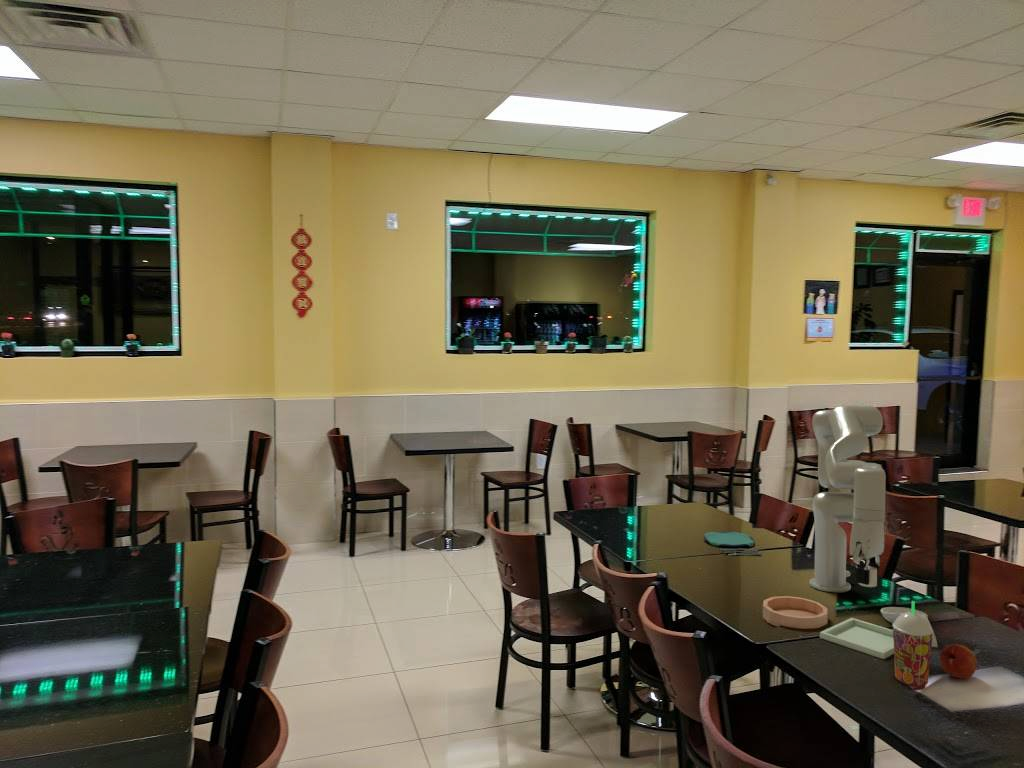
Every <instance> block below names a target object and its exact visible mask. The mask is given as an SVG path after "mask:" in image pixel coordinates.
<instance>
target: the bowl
mask: <svg viewBox="0 0 1024 768" xmlns="http://www.w3.org/2000/svg"><path fill="white" fill-rule="evenodd" d="M828 613H829V612H828V607H826V606H825V605H823V604H821V603H820V602H818V601H814V600H811V599H809V598H805V597H798V596H790V595H784V596H783V595H782V596H771V597H769V598H766V599H764V600H763V604H762V619H763V620H764V619H765V620H766V621H767V622H766V621H765V620H764V621H765V622H766V623H768V624H769V623H770V624H769V625H771V624H772V625H771V626H773V625H774V626H773V627H775V626H777V627H776V628H778V627H780V626H783V627H787V628H793V629H803V630H804V629H806V630H807V629H808V630H809V629H819V628H821V627H824V626H826V625H828Z"/></svg>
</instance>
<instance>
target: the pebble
mask: <svg viewBox="0 0 1024 768" xmlns="http://www.w3.org/2000/svg"><path fill="white" fill-rule="evenodd" d="M868 570H870V573H869V584H868V585H865V584H862V583H858V585H859V586H862V587H866V588H875V587H877V585H878V581H877V568H875V567H871V566H868Z"/></svg>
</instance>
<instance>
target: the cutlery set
mask: <svg viewBox="0 0 1024 768" xmlns="http://www.w3.org/2000/svg"><path fill="white" fill-rule="evenodd" d="M703 535H704V536H703V540H705V541H706V542H707V543H709V544H710V545H711V546H714V547H719V546H722V547H731V548H719V549H718V550H719V551H720V552H721V553H722V554H726V552H722V551H733V552H734V553H733V552H732V553H733V554H728V555H735V556H734V557H737V556H736V555H739V556H743V555H755V556H756V555H761V556H762V552H760V551H759V550H758V549H757V548H755V549H754V548H752V547H753V546H754V544H755V539H754V537H752V536H750V535H748V534H745V533H742V532H739V531H738V532H737V531H710V532H707V533H704V534H703ZM746 546H749V547H750V548H752V549H749V548H737V547H746ZM751 546H752V547H751ZM733 547H734V548H733ZM735 547H736V548H735ZM738 550H740V551H738ZM741 550H743V551H741ZM737 551H738V552H743V553H736V552H737Z"/></svg>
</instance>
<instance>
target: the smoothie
mask: <svg viewBox="0 0 1024 768" xmlns="http://www.w3.org/2000/svg"><path fill="white" fill-rule="evenodd" d="M915 604H916V601H915V600H911V608H910V609H911V612H905V613H902V614H901V615H899V616H898V617H897V619H896V620H895V622H894V623H892V630H893V640H894V654H893V657H894V658H893V659H894V676H895V679H897V680H898V681H899V682H900V683H902V684H904V685H907V686H911V687H913V688H912V691H913V690H916V691H917V690H918V691H919V690H921V691H922V690H924V689H925V688H926V686H927V684H928V683H929V678H930V677H929V676H930V666H931V655H932V647H931V646H932V634H933V632H934V629H933V627H932V625H931V623H930V624H929V622H930V621H929V622H928V621H927V620H926V619H925V618H924V617H923V616H922V615H920V614H918V613H915V610H916V607H915V606H916V605H915ZM930 625H931V626H930ZM931 627H932V628H931Z"/></svg>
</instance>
